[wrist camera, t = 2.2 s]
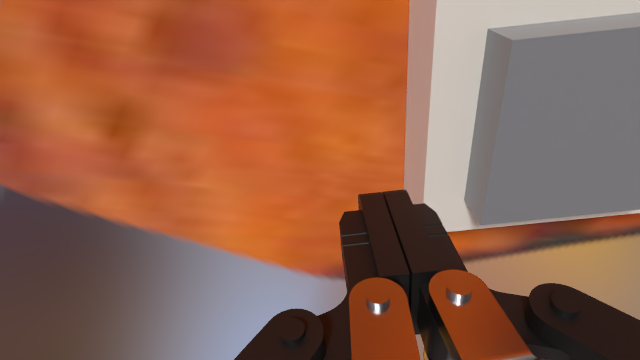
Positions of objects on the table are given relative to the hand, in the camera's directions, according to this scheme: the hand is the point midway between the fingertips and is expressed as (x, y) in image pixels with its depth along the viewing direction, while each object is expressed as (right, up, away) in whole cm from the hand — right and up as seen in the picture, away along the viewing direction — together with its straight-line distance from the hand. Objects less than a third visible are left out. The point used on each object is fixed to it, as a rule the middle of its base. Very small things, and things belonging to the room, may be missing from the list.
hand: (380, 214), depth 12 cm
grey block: (+9, +4, +4) cm, 10 cm away
